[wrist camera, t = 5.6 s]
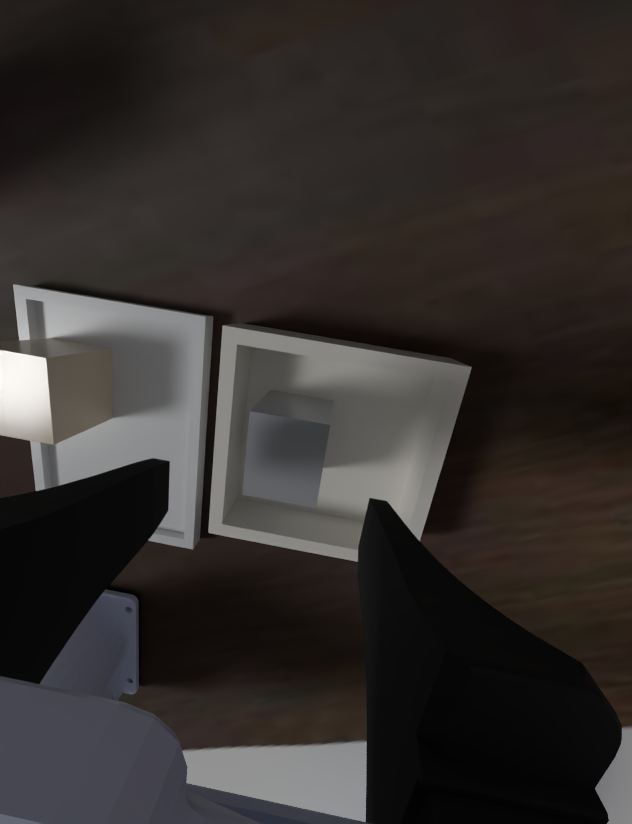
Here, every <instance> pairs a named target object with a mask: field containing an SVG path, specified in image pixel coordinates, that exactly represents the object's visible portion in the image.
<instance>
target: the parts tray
mask: <svg viewBox="0 0 632 824" xmlns="http://www.w3.org/2000/svg"><path fill="white" fill-rule="evenodd" d="M13 288H14V297H15V306H16V315H17V324H18V333H19V340H31V339H43V338H54V339H60V340H65V341H71V342H77V343H83V344H88V345H94V346H100V347H106V348H111V372H112V407H113V418H112V419H110V420H108V421H106V422H103V423H101V424H99V425H97V426H95V427H92V428H90V429H88V430H86V431H84V432H81V433H79V434H77V435H75V436H72V437H70V438H68V439H66V440H64V441H61V442H59V443H57V444H55V445H52V444H46V443H41V442H35V441H30V442H31V451H32V460H33V469H34V478H35V487H36V491H39V490H43V489H48V488H52V487H56V486H59V485H63V484H67V483H70V482H74V481H77V480H81V479H84V478H88V477H91V476H94V475H98V474H101V473H104V472H107V471H110V470H113V469H117V468H120V467H123V466H126V465H129V464H132V463H136V462H139V461H143V460H147V459H152V458H155V459H161V460H166V461H170V472H169V506H168V512H167V514H166V515H165V517H164V518H163V520H162V522H161V523H160V525H159V526H158V528H157V529H156V531H155V532H154V534H153V535H152V536H151V537H150V539H149V540H148V541H153V542H158V543H163V544H168V545H174V546H179V547H184V548H189V549H194V547H195V545H196V544H197V542H198V541H199V539H200V528H201V512H202V496H203V479H204V463H205V447H206V430H207V414H208V397H209V381H210V365H211V348H212V332H213V316H208V315H202V314H196V313H190V312H184V311H178V310H172V309H166V308H160V307H154V306H148V305H142V304H136V303H130V302H124V301H118V300H112V299H106V298H100V297H94V296H88V295H82V294H76V293H70V292H64V291H58V290H53V289H47V288H41V287H35V286H26V285H15V284H13Z"/></svg>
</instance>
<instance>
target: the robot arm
mask: <svg viewBox="0 0 632 824" xmlns="http://www.w3.org/2000/svg"><path fill="white" fill-rule="evenodd" d="M169 472H170V461H166V460H161V459H155V458H152V459H147V460H143V461H139V462H136V463H132V464H129V465H126V466H123V467H120V468H117V469H113V470H110V471H107V472H104V473H101V474H98V475H94V476H91V477H88V478H84V479H81V480H77V481H74V482H70V483H67V484H63V485H59V486H56V487H52V488H48V489H43V490H39V491H34V492H30V493H25V494H20V495H15V496H10V497H4V498H0V824H607V822H608V821H609V820H608V814H607V811H606V809H605V808H604V806H603V804H602V802H601V800H600V798H599V796H598V794H597V792H596V790H595V787H596V785H597V784H598V782H599V781H600V779H601V778H602V776H603V774H604V773H605V772H606V770H607V769H608V767H609V765H610V764H611V763H612V761H613V759H614V758H615V756H616V753H617V751H618V749H619V747H620V744H621V740H622V738H621V737H622V726H621V723H620V721H619V719H618V716H617V714H616V712H615V711H614V709H613V708H612V706H611V705H610V703H609V702H608V700H607V699H606V697H605V696H604V694H603V693H602V691H601V690H600V689H599V687H598V686H597V684H596V683H595V681H594V680H593V678H592V677H591V675H590V674H589V672H588V671H587V670H586V668H585V667H584V665H583V664H582V663H581V662H579V661H577V660H576V659H574V658H572V657H570V656H569V655H567V654H565V653H564V652H562V651H560V650H559V649H557V648H555V647H553V646H552V645H550V644H548V643H547V642H545V641H543V640H541V639H540V638H538V637H536V636H535V635H533V634H532V633H530V632H528V631H527V630H525V629H524V628H522V627H521V626H519V625H518V624H516V623H515V622H513V621H512V620H510V619H509V618H507V617H506V616H504V615H503V614H502V613H500V612H499V611H497V610H496V609H495V608H493V607H492V606H491V605H489V604H488V603H487V602H485V601H484V600H483V599H481V598H480V597H479V596H478V595H476V594H475V593H474V592H472V591H471V590H470V589H469V588H467V587H466V586H465V585H464V584H463V583H461V582H460V581H459V580H458V579H457V578H456V577H455V576H454V575H453V574H451V573H450V572H449V571H448V570H447V569H446V568H445V567H444V566H443V565H442V564H441V563H440V562H439V561H438V560H437V559H436V558H435V557H434V556H433V555H432V554H431V553H430V552H429V551H428V550H427V549H426V548H425V547H424V546H423V545H422V543H421V542H420V541H419V540H418V539H417V538H416V537H415V535H414V534H413V533H412V532H411V531H410V529H409V528H408V527H407V526H406V524H405V523H404V522H403V521H402V519H401V518H400V517H399V516H398V514H397V513H396V512H395V510H394V509H393V508H392V507H391V505H390V504H389V503H388V502H387V501H384V500H379V499H373V498H369V502H368V507H367V511H366V515H365V520H364V524H363V528H362V532H361V537H360V541H359V545H358V580H359V590H360V599H361V608H362V617H363V626H364V635H365V647H366V681H367V788H366V789H367V790H366V791H367V792H366V793H367V794H366V822H361V821H357V820H352V819H348V818H343V817H339V816H334V815H329V814H325V813H320V812H316V811H311V810H306V809H301V808H297V807H293V806H288V805H284V804H279V803H274V802H269V801H265V800H261V799H256V798H252V797H247V796H242V795H238V794H233V793H229V792H224V791H219V790H215V789H210V788H206V787H201V786H197V785H192V784H187V783H186V777H187V765H186V762H185V759H184V756H183V753H182V749H181V746H180V743H179V740H178V737H177V735H176V734H175V733H174V732H173V731H172V730H171V729H170V728H169V727H168V726H166V725H165V724H164V723H163V722H162V721H161V720H160V719H159V718H158V717H157V716H156V715H154V714H152V713H149V712H147V711H144V710H142V709H140V708H137V707H135V706H132V705H130V704H127V703H125V702H121V701H118V699H119V698H120V696H121V694H122V693H128V694H134V693H136V691H137V690H138V688H139V617H138V599H137V597H136V596H134V595H132V594H127V593H122V592H117V591H112V590H107V589H106V588H107V587H108V586H109V585H110V584H111V583H112V581H113V580H114V579H115V578H116V577H117V576H118V575H119V573H120V572H121V571H122V570H123V569H124V568H125V566H126V565H127V564H128V563H129V562H130V561H131V560H132V558H133V557H134V556H135V555H136V554H137V553H138V551H139V550H140V549H141V548H142V547H143V546H144V544H145V543H146V542H147V541H148V540H149V539H150V537H151V536H152V535H153V534H154V532H155V531H156V529H157V528H158V526H159V525H160V523H161V522H162V520H163V518H164V517H165V515H166V514H167V512H168V506H169Z"/></svg>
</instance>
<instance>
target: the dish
mask: <svg viewBox="0 0 632 824" xmlns="http://www.w3.org/2000/svg"><path fill="white" fill-rule="evenodd" d="M471 368H472V367H470V366H468V365H465V364H463V363H461V362H459V361H456V360H454V359H452V358H447V357H441V356H435V355H429V354H423V353H417V352H411V351H405V350H399V349H394V348H388V347H382V346H376V345H370V344H364V343H358V342H352V341H346V340H340V339H334V338H328V337H322V336H316V335H310V334H304V333H298V332H292V331H286V330H280V329H274V328H268V327H262V326H256V325H250V324H244V323H242V324H231V325H223V327H222V342H221V356H220V370H219V385H218V399H217V413H216V428H215V442H214V456H213V471H212V485H211V500H210V514H209V528H208V533H212V534H217V535H222V536H227V537H232V538H237V539H243V540H248V541H253V542H258V543H263V544H269V545H274V546H279V547H284V548H289V549H294V550H300V551H305V552H310V553H315V554H320V555H326V556H331V557H336V558H341V559H346V560H352V561H357V562H358V545H359V541H360V537H361V532H362V528H363V524H364V520H365V515H366V511H367V507H368V502H369V498H373V499H379V500H384V501H387V502H388V503H389V504H390V505H391V507H392V508H393V509H394V510H395V512H396V513H397V514H398V516H399V517H400V518H401V519H402V521H403V522H404V523H405V524H406V526H407V527H408V528H409V529H410V531H411V532H412V533H413V534H414V535H415V537H416V538H417V539H418V540H419V541H420V539H421V535H422V532H423V529H424V525H425V522H426V519H427V515H428V512H429V509H430V505H431V502H432V499H433V495H434V492H435V489H436V485H437V482H438V479H439V475H440V472H441V469H442V465H443V462H444V458H445V455H446V452H447V448H448V445H449V442H450V438H451V435H452V432H453V428H454V425H455V422H456V418H457V415H458V412H459V408H460V405H461V402H462V398H463V395H464V392H465V388H466V385H467V382H468V378H469V375H470V372H471ZM270 390H274V391H280V392H286V393H292V394H298V395H304V396H310V397H316V398H322V399H328V400H334V402H333V409H332V416H331V423H330V429H329V435H328V441H327V447H326V453H325V459H324V465H323V470H322V476H321V482H320V488H319V494H318V500H317V505H316V508H313V507H308V506H302V505H297V504H291V503H286V502H280V501H274V500H269V499H263V498H258V497H252V496H247V495H242V490H243V479H244V468H245V457H246V447H247V436H248V425H249V414H250V410H251V409H252V408H253V407H254V406H255V405H256V404H257V403H258V402H259V401H260V400H261V399H262V398H263V397H264V396H265V395H266V394H267V393H268V392H269V391H270Z"/></svg>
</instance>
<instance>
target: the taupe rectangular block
mask: <svg viewBox="0 0 632 824" xmlns="http://www.w3.org/2000/svg"><path fill="white" fill-rule="evenodd" d="M112 418H113V407H112V372H111V348H106V347H100V346H94V345H88V344H83V343H77V342H71V341H65V340H60V339H54V338H43V339H31V340H19V341H7V342H0V435H3V436H8V437H14V438H19V439H25V440H30V441H35V442H41V443H46V444H52V445H55V444H57V443H59V442H61V441H64V440H66V439H68V438H70V437H72V436H75V435H77V434H79V433H81V432H84V431H86V430H88V429H90V428H92V427H95V426H97V425H99V424H101V423H103V422H106V421H108V420H110V419H112Z"/></svg>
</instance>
